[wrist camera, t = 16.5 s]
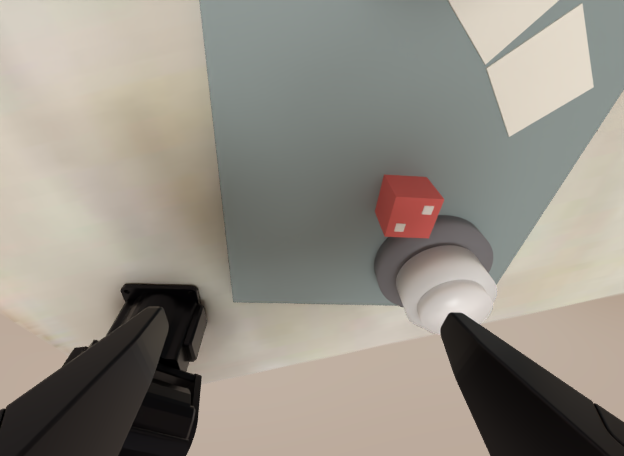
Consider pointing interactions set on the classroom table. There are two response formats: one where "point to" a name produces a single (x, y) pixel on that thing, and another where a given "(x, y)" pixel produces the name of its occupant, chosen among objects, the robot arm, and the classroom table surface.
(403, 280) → the pop dome
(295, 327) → the classroom table surface
